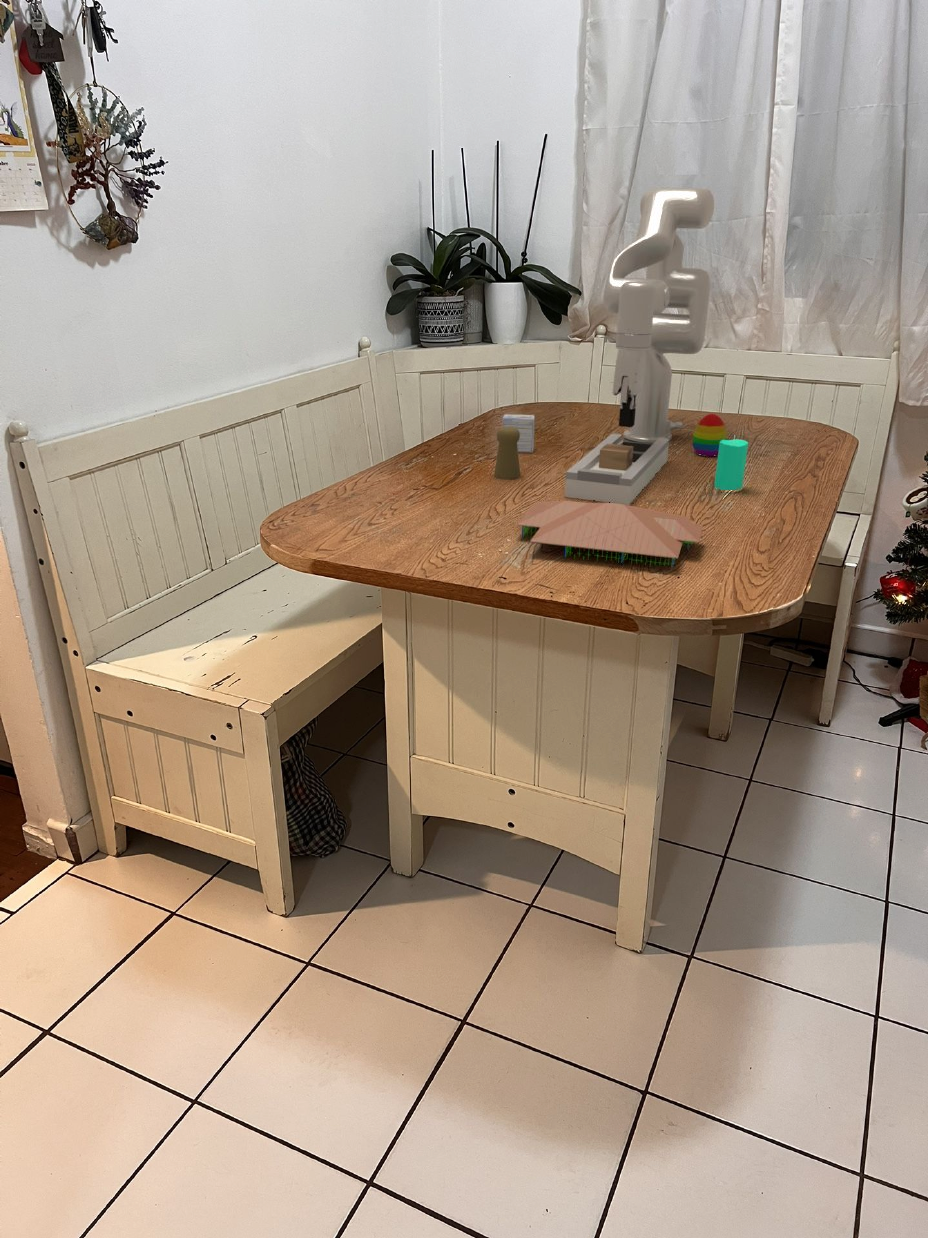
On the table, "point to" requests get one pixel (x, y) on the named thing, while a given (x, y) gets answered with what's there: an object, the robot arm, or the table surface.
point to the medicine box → (522, 430)
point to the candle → (731, 464)
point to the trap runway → (616, 472)
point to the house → (610, 528)
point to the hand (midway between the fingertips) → (626, 425)
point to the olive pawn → (507, 454)
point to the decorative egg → (709, 435)
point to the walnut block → (616, 457)
